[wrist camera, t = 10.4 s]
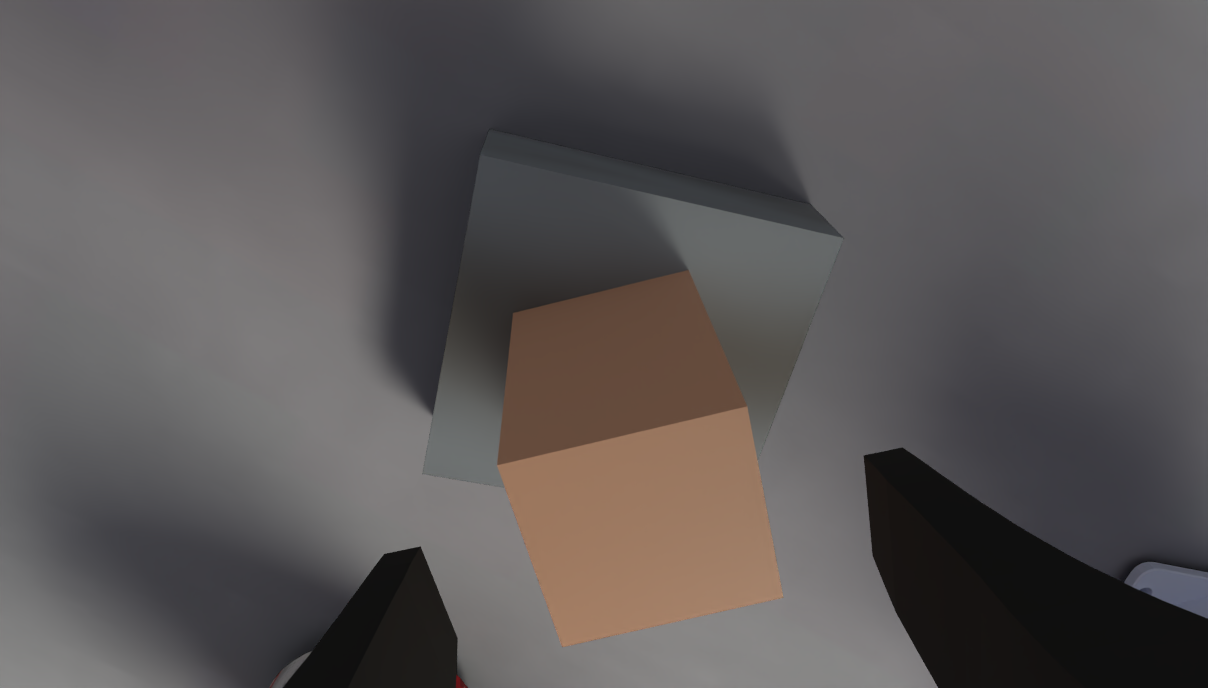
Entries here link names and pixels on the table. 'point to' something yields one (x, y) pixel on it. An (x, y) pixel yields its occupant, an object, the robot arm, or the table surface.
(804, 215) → the slate slab
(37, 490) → the table surface
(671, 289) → the terracotta block
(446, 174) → the table surface
